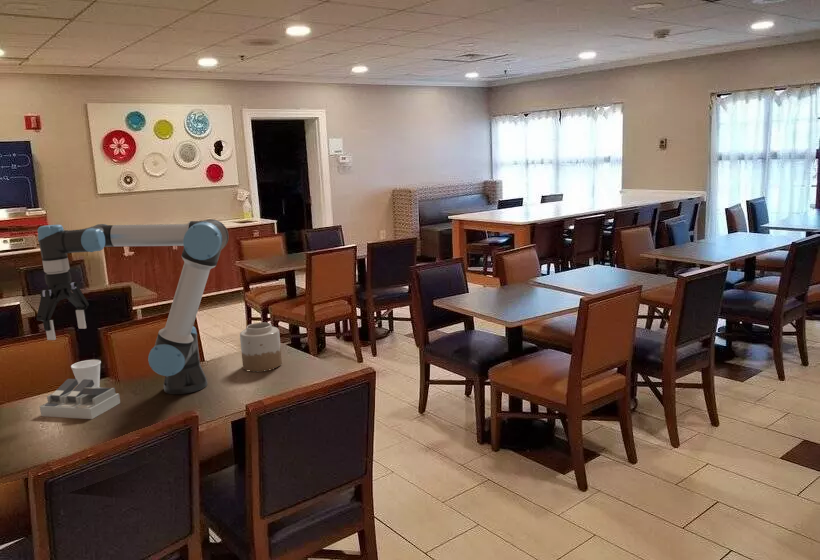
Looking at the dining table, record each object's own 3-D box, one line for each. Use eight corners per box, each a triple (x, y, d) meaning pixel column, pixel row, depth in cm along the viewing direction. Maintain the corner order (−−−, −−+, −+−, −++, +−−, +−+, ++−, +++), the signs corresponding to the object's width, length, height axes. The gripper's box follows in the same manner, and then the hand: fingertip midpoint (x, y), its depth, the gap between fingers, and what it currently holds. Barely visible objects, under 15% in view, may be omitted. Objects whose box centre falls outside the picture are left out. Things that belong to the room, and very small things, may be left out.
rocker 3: (110, 394, 222) (111, 387, 222) (91, 394, 213) (92, 388, 213) (101, 393, 223) (102, 387, 223) (82, 394, 214) (83, 387, 214)
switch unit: (120, 402, 224) (118, 386, 223) (91, 419, 211) (89, 402, 210) (71, 400, 229) (69, 384, 228) (41, 416, 216) (38, 399, 214)
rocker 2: (94, 384, 223) (92, 379, 222) (78, 401, 216) (75, 396, 215) (85, 383, 224) (83, 379, 223) (69, 401, 217) (66, 396, 216)
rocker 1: (78, 383, 225) (76, 378, 224) (61, 400, 217) (59, 396, 216) (70, 383, 226) (67, 378, 225) (53, 400, 218) (50, 395, 217)
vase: (289, 364, 257) (286, 324, 254) (257, 375, 247) (253, 333, 243) (267, 357, 268) (264, 318, 265) (235, 367, 257) (231, 327, 254)
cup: (93, 397, 231) (88, 368, 228) (68, 397, 233) (64, 368, 230) (110, 387, 240) (106, 359, 238) (87, 387, 242) (83, 359, 240)
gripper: (76, 265, 225) (85, 323, 229) (16, 279, 201) (28, 344, 205) (94, 265, 223) (103, 324, 227) (35, 279, 199) (47, 345, 203)
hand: (67, 333), depth 216 cm, fingers open, 13 cm apart
